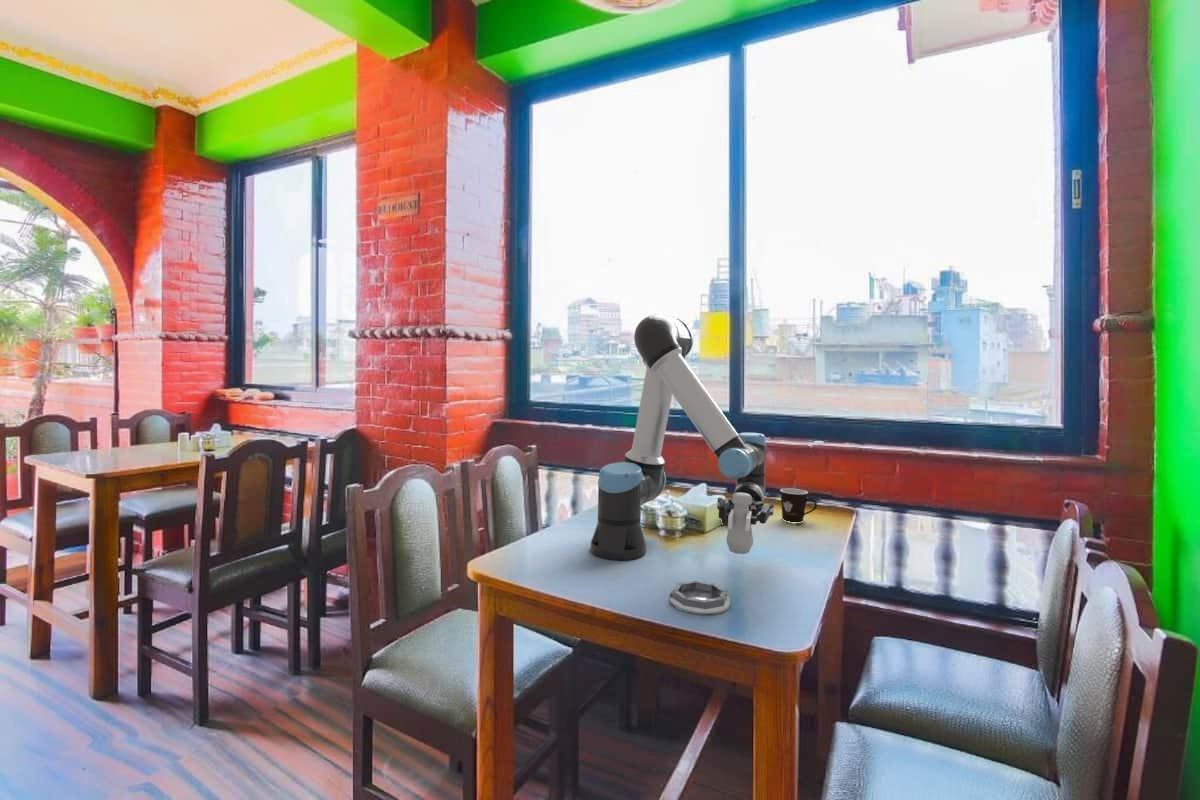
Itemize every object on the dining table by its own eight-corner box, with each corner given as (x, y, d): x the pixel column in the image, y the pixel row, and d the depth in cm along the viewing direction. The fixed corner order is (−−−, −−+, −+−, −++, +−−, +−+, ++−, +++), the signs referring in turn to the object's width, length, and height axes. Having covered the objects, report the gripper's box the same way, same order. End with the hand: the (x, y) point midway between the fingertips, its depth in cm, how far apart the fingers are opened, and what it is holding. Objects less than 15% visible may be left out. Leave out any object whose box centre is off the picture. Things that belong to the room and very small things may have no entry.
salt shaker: (731, 545, 136) (734, 489, 135) (756, 550, 133) (759, 493, 132) (721, 551, 131) (724, 493, 130) (746, 557, 128) (750, 497, 127)
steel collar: (663, 608, 125) (663, 597, 125) (676, 586, 137) (677, 576, 137) (725, 619, 121) (725, 607, 121) (733, 595, 133) (734, 585, 133)
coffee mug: (773, 518, 200) (775, 489, 199) (795, 516, 202) (797, 487, 202) (794, 528, 189) (796, 497, 188) (817, 526, 191) (819, 495, 190)
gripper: (779, 518, 146) (776, 545, 124) (714, 510, 151) (700, 536, 129) (781, 488, 146) (778, 510, 124) (715, 481, 151) (701, 502, 128)
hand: (738, 523), depth 126 cm, fingers closed on salt shaker, 3 cm apart
